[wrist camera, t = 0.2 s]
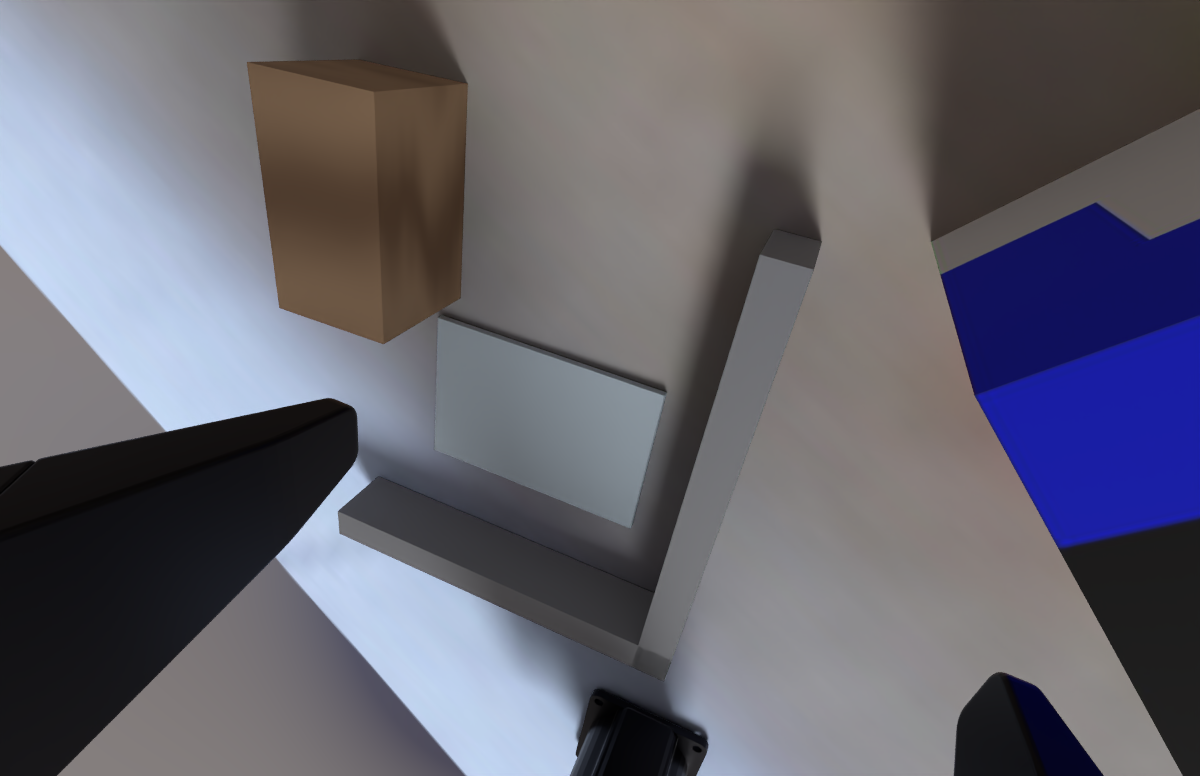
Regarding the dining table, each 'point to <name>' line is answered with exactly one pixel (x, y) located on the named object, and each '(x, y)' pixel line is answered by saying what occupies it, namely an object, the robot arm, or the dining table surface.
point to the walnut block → (362, 190)
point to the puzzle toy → (1103, 392)
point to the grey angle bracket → (571, 588)
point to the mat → (544, 420)
